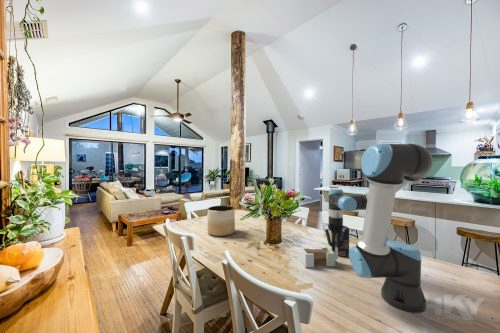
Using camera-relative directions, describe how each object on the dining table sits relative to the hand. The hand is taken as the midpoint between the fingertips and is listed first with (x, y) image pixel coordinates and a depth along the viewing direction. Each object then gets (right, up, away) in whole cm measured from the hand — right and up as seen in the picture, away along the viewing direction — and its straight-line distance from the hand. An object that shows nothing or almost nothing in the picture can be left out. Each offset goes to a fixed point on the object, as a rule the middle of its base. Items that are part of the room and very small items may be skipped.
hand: (335, 258), depth 122 cm
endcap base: (-8, -3, 0) cm, 9 cm away
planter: (-71, -2, +54) cm, 90 cm away
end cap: (-4, -2, 0) cm, 5 cm away
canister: (+8, -3, +12) cm, 15 cm away
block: (-11, -3, 0) cm, 11 cm away
